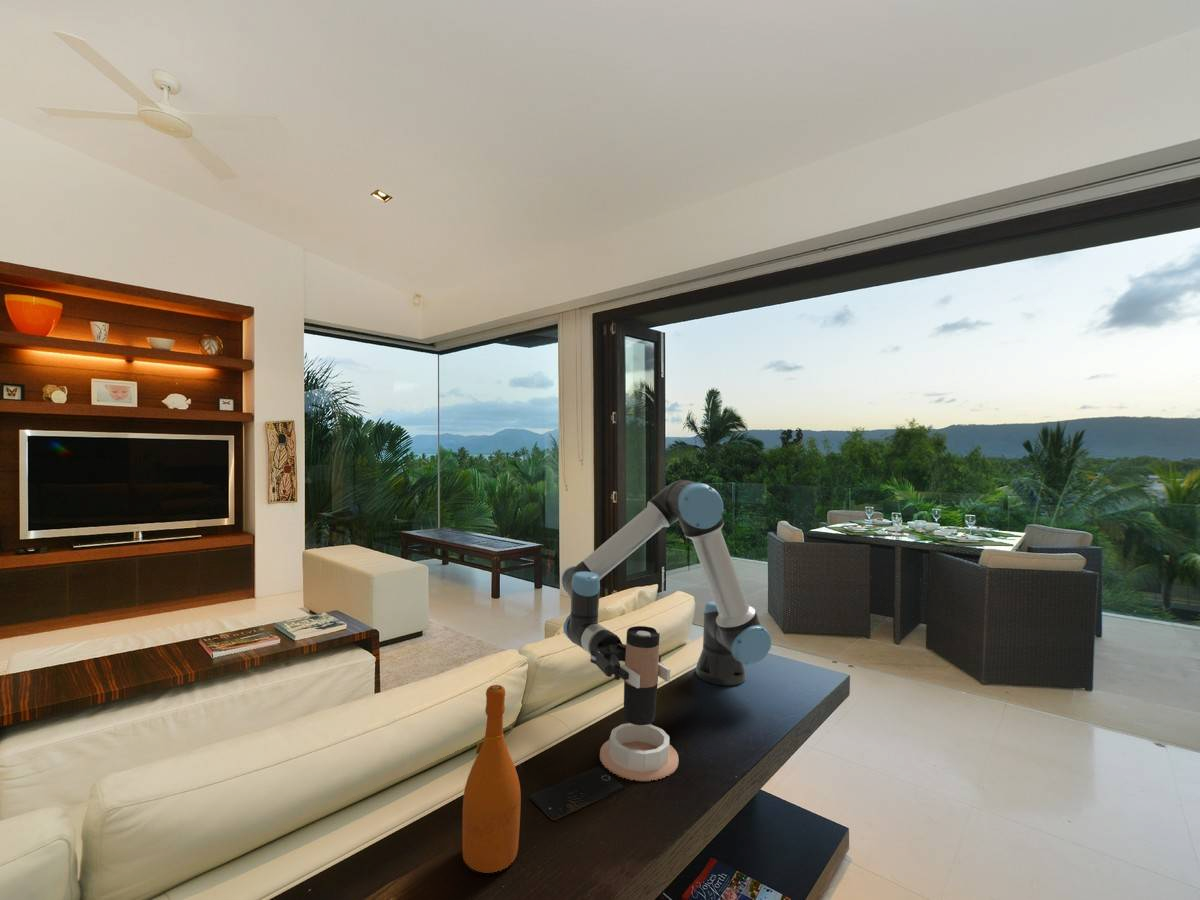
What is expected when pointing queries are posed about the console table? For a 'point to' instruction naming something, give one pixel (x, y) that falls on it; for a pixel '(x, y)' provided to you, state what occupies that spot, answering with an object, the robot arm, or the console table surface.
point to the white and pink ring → (639, 753)
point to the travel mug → (641, 674)
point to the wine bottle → (491, 797)
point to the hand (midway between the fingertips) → (653, 678)
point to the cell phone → (590, 780)
